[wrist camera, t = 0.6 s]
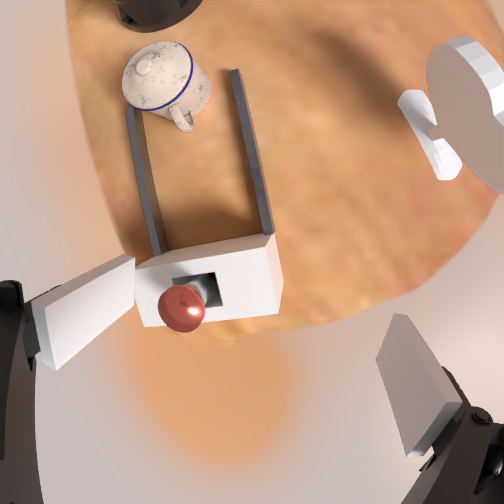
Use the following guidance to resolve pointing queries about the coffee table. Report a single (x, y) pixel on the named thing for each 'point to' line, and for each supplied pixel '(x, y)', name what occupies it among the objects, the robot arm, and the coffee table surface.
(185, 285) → the red knob
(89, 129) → the coffee table surface
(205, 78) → the teacup with lid
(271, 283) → the end cabinet
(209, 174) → the coffee table surface
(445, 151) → the heart sculpture
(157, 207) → the pair of grey rails
